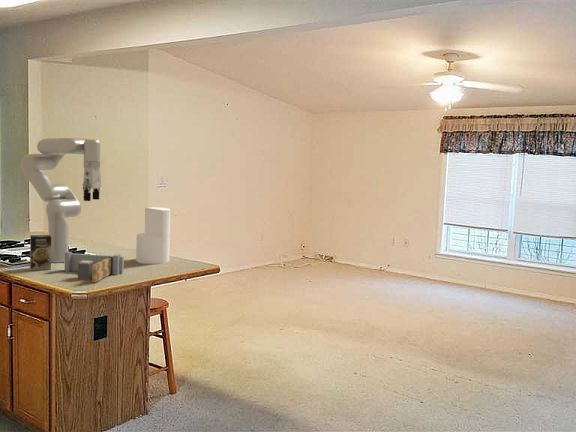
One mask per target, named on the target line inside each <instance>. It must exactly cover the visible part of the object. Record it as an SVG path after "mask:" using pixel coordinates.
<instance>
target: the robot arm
mask: <svg viewBox="0 0 576 432" xmlns="http://www.w3.org/2000/svg"><path fill="white" fill-rule="evenodd" d="M36 148H37V151H38V152H39V153H28V154H25V155H24V156H23V157H22V158H21V160H20V167H21V168H20V169H21V171H22V173H23V175H24V177H25V178H26V179H27V180H28V182H29V183H31V185H32V187H33V188H34V189H35V192H36V193H37V194H38V196H39V197H40V199H41V200H42V201H43V202H45V203H47V204H46V208H45V209H46V210H45V211H46V215H47V222H48V223H47V224H48V225H47V226H48V228H47V230H48V235H51V263H55V264H56V263H58V264H59V263H65V252H69V225H68V222H67V220H66V218H74V217H77V216H80V214H81V213H82V206H81V203H80V201H79V199H78V198H77V196H76V195H75V194H74V192H73V191H72V189H71V188H70V187H69V186H68V185H66V184H63V183H54V182H52V181H51V180H50V178H49V177H48V175H46V174H45V173H44V172H42V171H51V170H54V169H56V167H57V166H58V165H59V163H60V162H61V161H62V160H63V158H64V156H65V155H67V154H68V155H70V154H71V155H83V168H84V171H83V182H82V190H83V191H82V193H83V201H84V202H91V201H92V200H100V190H101V189H100V188H101V187H102V180H101V179H102V176H101V170H100V169H101V141H100V140H98V139H90V138H77V137H75V138H74V137H72V138H71V137H57V138H56V137H53V138H49V137H48V138H42V139H40V140H39V141H38V142H37V144H36ZM91 190H92V194H91ZM91 196H92V197H91ZM91 199H92V200H91Z"/></svg>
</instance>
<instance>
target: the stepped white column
mask: <svg viewBox="0 0 576 432" xmlns="http://www.w3.org/2000/svg"><path fill="white" fill-rule="evenodd" d="M170 239H171V209H170V208H168V207H155V206H154V207H153V206H149V207H148V206H145V207H144V232H143V233H138V234H136V249H135V250H136V253H135V254H136V256H135V257H136V258H135V259H136V260H135V261H136V262H137V263H140V264H145V265H147V264H148V265H158V264H159V263H161V264H167V263H169V262H170V250H171V249H170V246H171V244H170V243H171V240H170ZM168 261H169V262H168ZM166 262H167V263H166ZM159 265H160V264H159Z"/></svg>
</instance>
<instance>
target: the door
mask: <svg viewBox="0 0 576 432" xmlns="http://www.w3.org/2000/svg"><path fill="white" fill-rule="evenodd" d="M108 256H109V258H106V259H104V260H102V261H100V262H98V263H96V264H94V265H92V278H91V282H92V283H97V282H99V281H101V280H102V279H104V278H106V277H108V276H109V275H113V255H108Z"/></svg>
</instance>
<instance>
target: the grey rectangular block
mask: <svg viewBox="0 0 576 432" xmlns="http://www.w3.org/2000/svg"><path fill="white" fill-rule="evenodd" d="M92 265H94V262H93V261H85V260H83V261H81V262H79V263H78V271H77V279H78V280H87V279H89V280H91V279H92ZM90 278H91V279H90Z"/></svg>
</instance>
